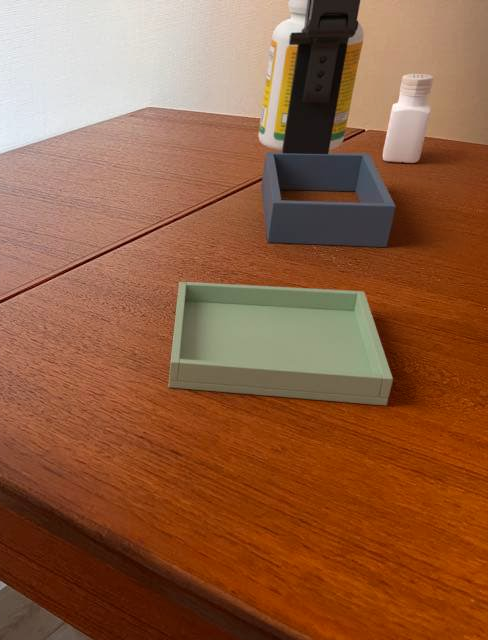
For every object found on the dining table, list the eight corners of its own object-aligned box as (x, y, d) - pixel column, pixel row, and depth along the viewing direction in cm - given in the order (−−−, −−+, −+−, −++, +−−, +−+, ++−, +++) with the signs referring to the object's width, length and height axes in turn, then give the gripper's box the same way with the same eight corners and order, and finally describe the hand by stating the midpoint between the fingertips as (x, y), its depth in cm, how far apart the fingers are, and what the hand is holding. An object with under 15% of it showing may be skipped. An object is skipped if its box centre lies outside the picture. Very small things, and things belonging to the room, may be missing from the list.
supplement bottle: (241, 140, 59) (260, -15, 54) (305, 129, 60) (330, -23, 55) (293, 158, 54) (319, -8, 49) (362, 147, 56) (393, -17, 51)
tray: (359, 315, 69) (364, 291, 68) (386, 406, 57) (393, 378, 56) (177, 304, 72) (179, 281, 71) (168, 387, 61) (170, 361, 60)
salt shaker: (418, 155, 104) (437, 73, 99) (418, 164, 101) (438, 80, 96) (382, 153, 106) (399, 72, 101) (381, 162, 103) (398, 79, 98)
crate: (362, 189, 95) (369, 153, 93) (386, 247, 80) (396, 206, 78) (260, 187, 97) (265, 151, 95) (267, 242, 83) (273, 202, 81)
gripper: (287, -276, 54) (240, 108, 66) (310, -331, 39) (244, 179, 51) (419, -289, 52) (346, 108, 64) (497, -353, 37) (383, 183, 49)
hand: (301, 139), depth 57 cm, fingers closed on supplement bottle, 5 cm apart
